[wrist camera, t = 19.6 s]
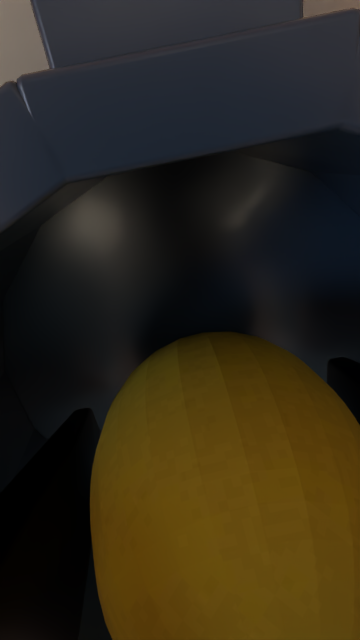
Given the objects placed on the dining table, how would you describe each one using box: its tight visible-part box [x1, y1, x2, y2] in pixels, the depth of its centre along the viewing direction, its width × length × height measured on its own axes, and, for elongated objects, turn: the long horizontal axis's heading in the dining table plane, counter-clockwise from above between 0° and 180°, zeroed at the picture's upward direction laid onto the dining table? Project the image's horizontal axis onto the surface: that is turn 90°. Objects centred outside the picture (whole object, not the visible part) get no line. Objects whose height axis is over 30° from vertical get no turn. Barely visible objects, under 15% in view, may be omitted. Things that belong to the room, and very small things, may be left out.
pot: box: [0, 0, 360, 640], centre depth 8 cm, size 14×19×6 cm
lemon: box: [90, 331, 360, 640], centre depth 7 cm, size 6×6×8 cm
